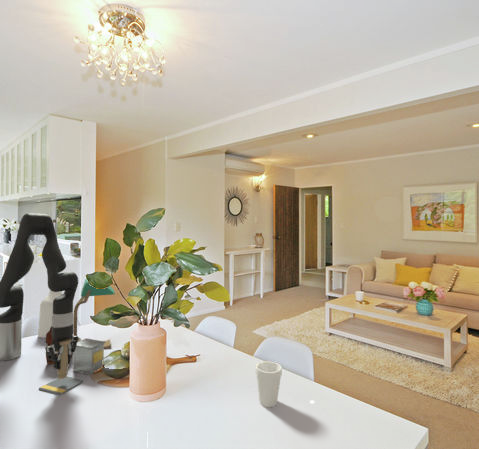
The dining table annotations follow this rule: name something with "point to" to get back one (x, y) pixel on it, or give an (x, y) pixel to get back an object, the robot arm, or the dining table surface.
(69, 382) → the mat
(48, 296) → the milk
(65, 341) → the handle
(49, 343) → the wooden figurine
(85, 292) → the banker's lamp
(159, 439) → the dining table surface
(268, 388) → the foam cup
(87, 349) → the tin
